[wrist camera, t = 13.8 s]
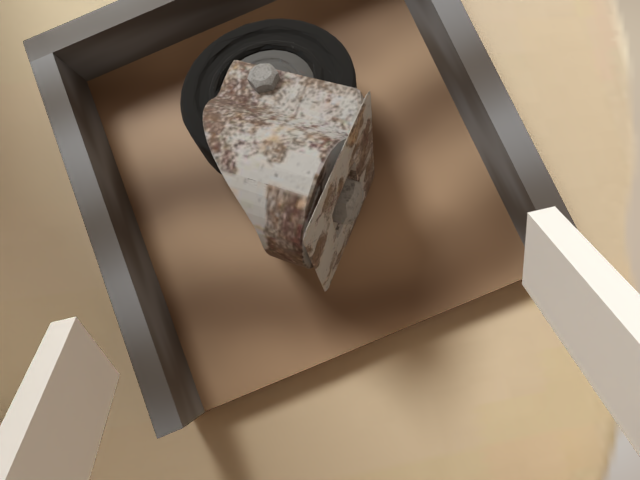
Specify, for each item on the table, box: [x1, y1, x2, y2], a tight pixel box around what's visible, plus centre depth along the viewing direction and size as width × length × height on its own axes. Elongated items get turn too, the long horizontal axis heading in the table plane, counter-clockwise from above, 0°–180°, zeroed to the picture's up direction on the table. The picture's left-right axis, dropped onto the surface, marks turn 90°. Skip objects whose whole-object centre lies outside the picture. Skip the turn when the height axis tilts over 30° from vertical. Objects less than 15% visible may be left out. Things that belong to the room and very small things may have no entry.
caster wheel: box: [180, 18, 374, 291], centre depth 22 cm, size 7×11×10 cm
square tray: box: [23, 0, 577, 439], centre depth 23 cm, size 20×20×4 cm
